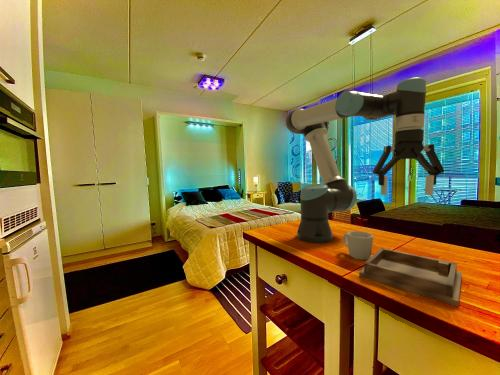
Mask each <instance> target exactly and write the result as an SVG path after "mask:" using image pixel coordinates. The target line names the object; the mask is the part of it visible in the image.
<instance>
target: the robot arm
mask: <svg viewBox="0 0 500 375" xmlns="http://www.w3.org/2000/svg"><path fill="white" fill-rule="evenodd" d="M426 94H427V81H426V79H425V78H423V77H419V76H418V77H411V78H406V79H403V80H401V81H400V82H398V84H397V85H396V89H395V91H393V92H392V91H391V92H390V93H387V94H383V95H379V94H373V93H366V92H360V91H357V90H352V91H351V90H346V91H343V92H341V93H340V94H339V95H338V97H337V98H334V99H331V100H328V101H326V102H325V101H324V102H322V103H319V104H315V105H313V106H309V107H307V108H297V109H294V110H291V111H289V113H288V114H287V116H286V117H285V126H286V128H287V130H288V131H290V132H291V133H292V134H298V135H303V137H304V140H305V141H307V143H309V145H310V148H311V151H312V154H313V157H314V160H315V163H316V167H317V170H318V172H319V175H320V176H319V177H320V179H321V181H322V183H319V184H311V185H305V186H303V187H302V188H301V189H300V196H299V199H300V222H299V224H298V228H297V232H296V237H297V239H298V240H300V241H302V242H306V243H307V242H308V243H314V244H315V243H318V244H319V243H328V242H331V241H332V240H334V239H333V232H332V228H331V225H330V223H329V213H338V212H345V211H349V210H352V208H354V206H355V205H356V203H357V199H358V195H357V191H356V189H355V188H354V187H352V185H349V184H348V183H347V180H346V179H345V178H343V177H342V176H341V173H340V171H339V169H338V168H339V167H338V165H337V163H336V159H335V157H334V155H333V152H332V149H331V146H330V144H329V140H328V137H327V134H328V132H329V131H328V130H329V128H330V126H329V125H330V122H332V121H337V120H342V119H347V118H350V117H361V118H364V119H365V120H366V121H374V120H380V119H384V118H387V117H392V116H395V123H394V124H395V125H394V129H395V130H394V131H395V133H394V146H392V145H385V146H384V147H383V152H382V154H381V156H380V158H379V160H378V161H377V163H376V164H375V166H374V168H373V170H372V174H373V175H377V176H378V180H377V181H378V185H379V186H380V195H382V196H384V197H386V196H388V179H389V178H388V177H389V176H388V175H386V174H387V173H388V172H390V170H391V169H392V168H393V167H394V166H395V165H396V164H397V163H398V162H399V161H400V160H413V159H414V160H415V161H416V162H418V163H419V165H420V166H421V167H422V168H423V169H424V170H425V171H426V173H427V174H426V175H425V185H424V187H425V188H424V195H426V196H434V186H436V184H437V176H439V175H440V174H443V173H445V169H444V167H443V165H442V163H441V161H440V159H439V156H438V155H437V153H436V152H435V145H434V143H429V144H425V145H424V144H423V142H424V134H425V132H424V129H423V128H424V127H425V114H426V113H425V109H426V108H425V107H426V98H427V97H426V96H427V95H426ZM393 152H394V153H395V154H394V155H392V157H391V159H389V161H388V162H387V160H388V158H389V157H390V154H391V153H393ZM422 152H425V155H426V157H427V158H428V160H427V159H426V158H425V155H424V154H423V153H422ZM386 162H387V163H386Z"/></svg>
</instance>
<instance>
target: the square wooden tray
mask: <svg viewBox="0 0 500 375" xmlns="http://www.w3.org/2000/svg"><path fill="white" fill-rule="evenodd" d="M457 268H458V267H457V263H456V262H452V261H447V260H442V259H437V258H434V257H433V258H432V257H428V256H422V255H417V254H412V253H410V252H409V253H408V252H403V251H398V250H393V249H388V248H382V247H380V248H379V249H378V250H377V251H376V252H375V253H374V254H372V256H370V258H369V259H366V260H365V262H364V263H363V268H361V269H360V270H359V272H358V276H359V277H362V278H365V279H367V280H371V281H375V282H377V283H380V284H384V285H387V286H390V287H393V288H395V289H396V288H397V289H399V290H403V291H406V292H409V293H413V294H415V295H416V294H417V295H420V296H422V297H425V298H428V299H432V300H435V301H439V302H442V303H445V304H448V305H452V306H456V307H458V308H459V304H460V303H459V302H460V294H461V286H462V275H463V274H462V271H459V270H458V271H457Z"/></svg>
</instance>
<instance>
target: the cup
mask: <svg viewBox="0 0 500 375" xmlns="http://www.w3.org/2000/svg"><path fill="white" fill-rule="evenodd" d="M342 236H343V237H342V242H343V244H344V246H346V247H347V250H348V254H349V256H350V257H351V258H353V259H356V260H361V261H362V260H363V261H364V260H365V261H367V260H368V259H369V258H371V257H372V256H371V255H372V252H373V242H374V235H373V234H372V233H370V232H367V231H361V230H352V231H351V230H350V231H348V232H347V233H344V234H343V235H342Z"/></svg>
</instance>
